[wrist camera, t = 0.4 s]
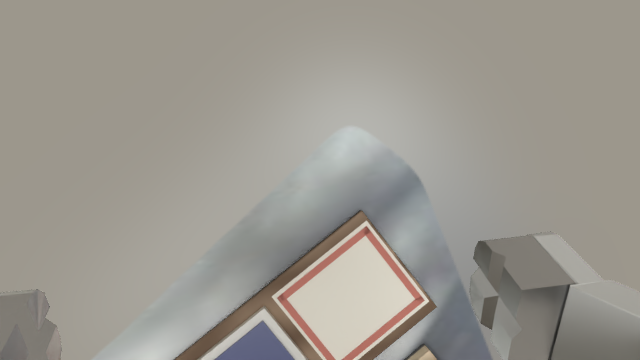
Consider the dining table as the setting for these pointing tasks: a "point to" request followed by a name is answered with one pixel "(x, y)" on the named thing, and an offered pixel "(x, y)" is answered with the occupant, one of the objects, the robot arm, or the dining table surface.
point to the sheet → (351, 297)
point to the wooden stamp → (421, 354)
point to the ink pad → (256, 341)
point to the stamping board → (265, 299)
